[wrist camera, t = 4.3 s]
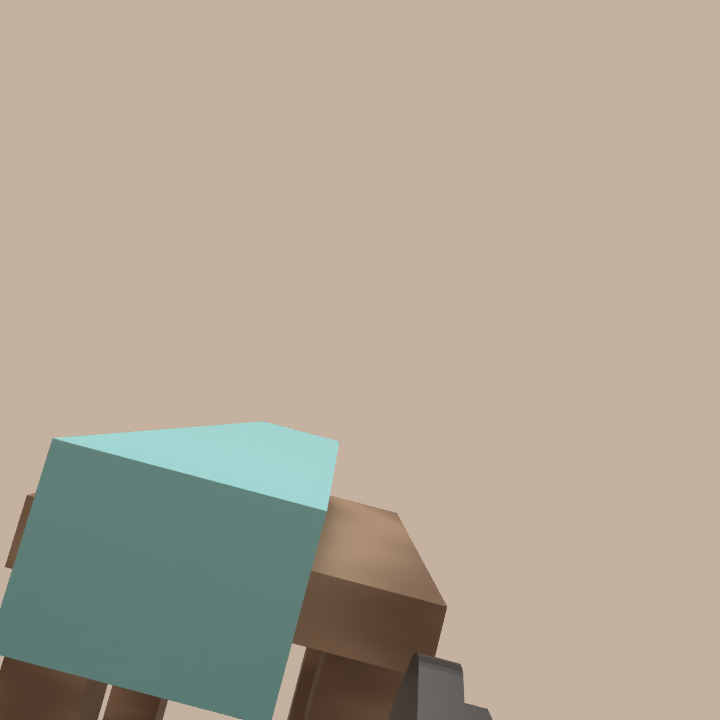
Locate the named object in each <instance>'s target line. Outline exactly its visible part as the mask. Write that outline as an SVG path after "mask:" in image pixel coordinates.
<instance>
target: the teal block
mask: <svg viewBox="0 0 720 720" xmlns="http://www.w3.org/2000/svg"><path fill="white" fill-rule="evenodd" d="M338 446H339V441H335V440H332V439H328V438H324V437H320V436H316V435H313V434H309V433H305V432H301V431H298V430H294V429H290V428H286V427H283V426H279V425H275V424H271V423H268V422H253V423H252V422H251V423H239V424H226V425H213V426H201V427H188V428H176V429H163V430H150V431H138V432H125V433H113V434H100V435H87V436H75V437H62V438H53V439H52V442H51V445H50V448H49V452H48V455H47V458H46V461H45V465H44V468H43V472H42V474H41V478H40V481H39V484H38V487H37V491H36V494H35V497H34V500H33V504H32V507H31V510H30V514H29V517H28V520H27V523H26V527H25V530H24V533H23V536H22V540H21V543H20V546H19V549H18V553H17V556H16V559H15V562H14V566H13V569H12V572H11V575H10V579H9V582H8V585H7V588H6V592H5V595H4V598H3V602H2V605H1V608H0V655H2V656H5V657H9V658H13V659H16V660H20V661H24V662H28V663H32V664H35V665H39V666H43V667H47V668H50V669H54V670H58V671H62V672H65V673H69V674H73V675H77V676H81V677H84V678H88V679H92V680H96V681H99V682H103V683H107V684H111V685H115V686H118V687H122V688H126V689H130V690H133V691H137V692H141V693H145V694H148V695H152V696H156V697H160V698H164V699H167V700H171V701H175V702H179V703H182V704H186V705H190V706H194V707H198V708H201V709H205V710H209V711H213V712H217V713H220V714H224V715H228V716H232V717H235V718H239V719H243V720H272V716H273V712H274V709H275V705H276V701H277V697H278V693H279V690H280V686H281V682H282V679H283V675H284V671H285V667H286V663H287V660H288V656H289V652H290V648H291V645H292V641H293V637H294V633H295V630H296V626H297V622H298V618H299V615H300V611H301V607H302V603H303V599H304V596H305V592H306V588H307V584H308V581H309V577H310V573H311V569H312V565H313V562H314V558H315V554H316V550H317V547H318V543H319V539H320V535H321V532H322V528H323V524H324V520H325V516H326V513H327V508H328V502H329V497H330V491H331V485H332V480H333V474H334V468H335V463H336V457H337V452H338Z"/></svg>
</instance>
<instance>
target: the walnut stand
mask: <svg viewBox="0 0 720 720" xmlns="http://www.w3.org/2000/svg"><path fill="white" fill-rule="evenodd" d="M35 494H36V493H33V494H30V495H27V497H26V500H25V503H24V507H23V510H22V513H21V516H20V520H19V523H18V526H17V529H16V533H15V536H14V539H13V542H12V546H11V549H10V552H9V556H8V559H7V562H6V565H5V567H7V568H11V569H13V566H14V562H15V559H16V556H17V553H18V549H19V546H20V543H21V540H22V536H23V533H24V530H25V527H26V523H27V520H28V517H29V514H30V510H31V507H32V504H33V500H34V497H35ZM446 609H447V606H446V604H445V602H444V600H443V598H442V596H441V594H440V593H439V591H438V589H437V587H436V585H435V583H434V581H433V580H432V578H431V576H430V574H429V572H428V571H427V569H426V567H425V565H424V563H423V561H422V559H421V557H420V555H419V554H418V552H417V550H416V548H415V546H414V544H413V542H412V541H411V539H410V537H409V535H408V533H407V531H406V529H405V528H404V526H403V524H402V522H401V520H400V518H399V517H398V515H397V513H394V512H390V511H386V510H382V509H379V508H375V507H371V506H368V505H364V504H360V503H356V502H353V501H349V500H345V499H341V498H338V497H333V496H330V497H329V502H328V508H327V513H326V516H325V520H324V524H323V528H322V532H321V535H320V539H319V543H318V547H317V550H316V554H315V558H314V562H313V565H312V569H311V573H310V577H309V581H308V584H307V588H306V592H305V596H304V599H303V603H302V607H301V611H300V615H299V618H298V622H297V626H296V630H295V633H294V637H293V641H292V643H294V644H297V645H301V646H305V647H306V650H305V654H304V658H303V662H302V666H301V670H300V674H299V677H298V681H297V685H296V689H295V693H294V696H293V700H292V704H291V708H290V712H289V715H288V719H287V720H388V719H389V715H390V712H391V709H392V707H393V704H394V702H395V699H396V697H397V694H398V692H399V689H400V687H401V684H402V681H403V679H404V676H405V674H406V671H407V669H408V666H409V664H410V661H411V659H412V657H413V655H414V653H416V652H417V653H421V654H425V655H429V656H432V657H435V654H436V650H437V646H438V642H439V638H440V634H441V629H442V625H443V621H444V617H445V613H446ZM107 685H108V684H107V683H103V682H99V681H96V680H92V679H88V678H84V677H81V676H77V675H73V674H69V673H65V672H62V671H58V670H54V669H50V668H47V667H43V666H39V665H35V664H32V663H28V662H24V661H20V660H16V659H13V658H9V657H5V656H4V659H3V663H2V666H1V670H0V720H97V719H98V716H99V712H100V709H101V705H102V702H103V699H104V695H105V692H106V688H107ZM167 701H168V700H167V699H164V698H160V697H156V696H152V695H148V694H145V693H141V692H137V691H133V690H130V689H126V688H122V687H118V686H115V685H113V686H112V689H111V693H110V696H109V700H108V703H107V707H106V710H105V713H104V717H103V720H163V716H164V712H165V708H166V705H167Z"/></svg>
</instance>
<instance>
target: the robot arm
mask: <svg viewBox="0 0 720 720" xmlns="http://www.w3.org/2000/svg"><path fill="white" fill-rule="evenodd" d="M388 720H492V718H491V716H490V713H489V711H488V709H485V708H481V707H478V706H474V705H470V704H466V703H464V685H463V671H462V667H461V665H460V664H459V663H455V662H451V661H447V660H444V659H440V658H436V657H432V656H429V655H425V654H421V653H417V652H416V653H414V655H413V657H412V659H411V661H410V664H409V666H408V669H407V671H406V674H405V676H404V679H403V681H402V684H401V687H400V689H399V692H398V694H397V697H396V699H395V702H394V704H393V707H392V709H391V712H390V715H389V719H388Z"/></svg>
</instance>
